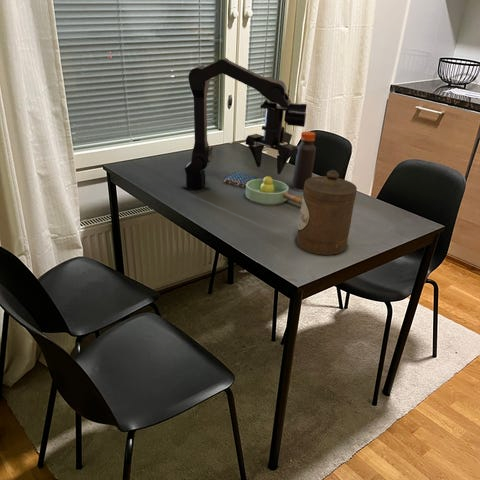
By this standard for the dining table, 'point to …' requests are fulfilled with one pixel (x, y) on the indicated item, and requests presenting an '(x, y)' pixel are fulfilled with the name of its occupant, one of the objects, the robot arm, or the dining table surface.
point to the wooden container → (326, 214)
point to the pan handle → (292, 198)
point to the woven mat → (239, 179)
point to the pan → (266, 198)
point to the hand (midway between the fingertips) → (268, 170)
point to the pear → (267, 185)
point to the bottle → (304, 160)
